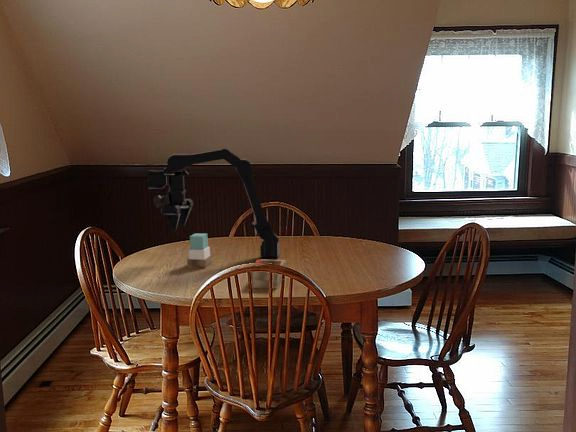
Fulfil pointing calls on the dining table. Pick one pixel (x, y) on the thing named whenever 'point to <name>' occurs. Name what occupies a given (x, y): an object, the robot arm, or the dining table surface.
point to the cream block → (199, 254)
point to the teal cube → (198, 241)
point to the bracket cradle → (267, 276)
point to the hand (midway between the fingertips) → (178, 228)
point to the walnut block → (199, 263)
